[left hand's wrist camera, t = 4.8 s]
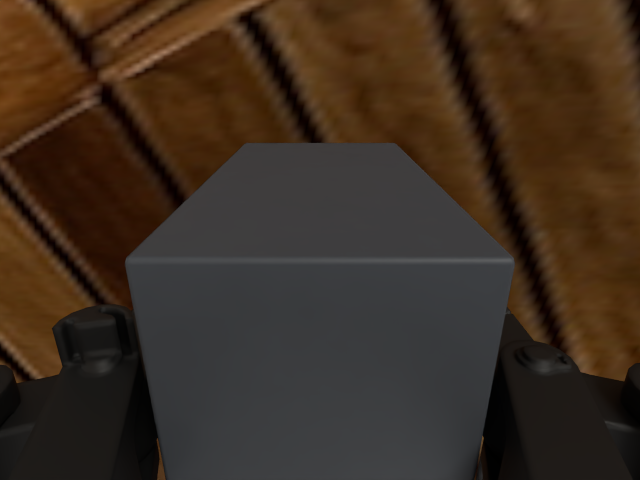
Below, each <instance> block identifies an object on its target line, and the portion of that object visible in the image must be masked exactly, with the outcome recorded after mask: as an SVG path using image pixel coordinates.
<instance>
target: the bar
mask: <svg viewBox="0 0 640 480" xmlns="http://www.w3.org/2000/svg"><path fill="white" fill-rule="evenodd" d="M514 265H515V262H514V258H513V257H512V256H511V255H510V254H509V253H508V252H507V251H506V250H505V249H504V248H503V247H502V246H501V245H500V244H499V243H498V242H497V241H496V240H495V239H494V238H492V237H491V236H490V235H489V234H488V233H487V232H486V231H485V230H484V229H483V228H482V227H481V226H480V225H479V224H478V223H477V222H476V221H475V220H474V219H473V218H472V217H471V216H470V215H469V214H468V213H467V212H466V211H465V210H464V209H462V208H461V207H460V206H459V205H458V204H457V203H456V202H455V201H454V200H453V199H452V198H451V197H450V196H449V195H448V194H447V193H446V192H445V191H444V190H443V189H442V188H441V187H440V186H439V185H438V184H437V183H436V182H435V181H434V180H432V179H431V178H430V177H429V176H428V175H427V174H426V173H425V172H424V171H423V170H422V169H421V168H420V167H419V166H418V165H417V164H416V163H415V162H414V161H413V160H412V159H411V158H410V157H409V156H408V155H407V154H406V153H405V152H404V151H403V150H401V149H400V148H399V147H398V146H397V145H396V144H395V143H246V144H244V145H243V146H242V147H241V148H240V149H239V150H238V151H237V152H236V153H235V154H234V155H233V156H232V157H231V158H230V159H229V160H228V161H227V162H225V163H224V164H223V165H222V166H221V167H220V168H219V169H218V170H217V171H216V172H215V173H214V174H213V175H212V176H211V177H210V178H209V179H208V180H207V181H206V182H205V183H204V184H203V185H202V186H201V187H199V188H198V189H197V190H196V191H195V192H194V193H193V194H192V195H191V196H190V197H189V198H188V199H187V200H186V201H185V202H184V203H183V204H182V205H181V206H180V207H179V208H178V209H177V210H176V211H175V212H173V213H172V214H171V215H170V216H169V217H168V218H167V219H166V220H165V221H164V222H163V223H162V224H161V225H160V226H159V227H158V228H157V229H156V230H155V231H154V232H153V233H152V234H151V235H150V236H149V237H147V238H146V239H145V240H144V241H143V242H142V243H141V244H140V245H139V246H138V247H137V248H136V249H135V250H134V251H133V252H132V253H131V254H130V255H129V256H128V257H127V258H126V262H125V266H126V271H127V276H128V282H129V287H130V292H131V297H132V303H133V308H134V313H135V319H136V324H137V329H138V334H139V340H140V345H141V350H142V356H143V361H144V366H145V371H146V377H147V382H148V387H149V393H150V398H151V403H152V408H153V414H154V419H155V424H156V430H157V435H158V440H159V445H160V451H161V456H162V461H163V466H164V472H165V477H166V480H474V477H475V472H476V467H477V461H478V456H479V451H480V445H481V440H482V435H483V430H484V424H485V419H486V414H487V408H488V403H489V398H490V393H491V387H492V382H493V377H494V371H495V366H496V361H497V355H498V350H499V345H500V340H501V334H502V329H503V324H504V318H505V313H506V308H507V302H508V297H509V292H510V287H511V281H512V276H513V271H514Z"/></svg>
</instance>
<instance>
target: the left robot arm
mask: <svg viewBox="0 0 640 480" xmlns="http://www.w3.org/2000/svg"><path fill="white" fill-rule="evenodd" d="M52 330H53V334H54V337H55V341H56V344H57V348H58V352H59V355H60V359H61V362H62V366H63V367H62V369H61V371H60V373H59V375H55V376H51V377H46V378H41V379H36V380H31V381H26V382H21V383H16V380H15V377H14V374H13V371H12V370H11V369H10V368H8V367H7V366H6V365H0V480H157V474H158V466H159V451H158V445H157V438H158V435H157V430H156V424H155V419H154V414H153V408H152V403H151V398H150V393H149V387H148V382H147V377H146V371H145V366H144V361H143V356H142V350H141V345H140V340H139V334H138V329H137V324H136V319H135V313H134V309H133V310H132V311H130V310H129V309H128V308H127V307H124V306H120V305H115V304H112V305H98V306H93V307H88V308H84V309H82V310H79V311H76V312H73V313H71V314H69V315H68V316H66V317H64V318H63V319H61V320H59V321H58V323H57V324H56V325H55V326H54V327H53V328H52ZM483 437H484V440H483V445H482V451H481V456H480V461H479V466H478V472H477V477H476V480H640V363H636V364H634V365H633V366H631V367H630V368H629V369H628V372H627V375H626V378H625V381H619V380H614V379H609V378H604V377H599V376H594V375H589V374H585V373H581V372H580V370H579V368H578V366H577V365H576V364H575V362H574V361H573V360H572V359H571V357H569V356H568V355H566V354H565V353H563V352H562V351H561V350H559V349H557V348H554V347H552V346H550V345H547V344H545V343H541V342H536V341H534V340H533V339H532V338H531V337H530V335H529V334H528V333H527V331H526V330H525V329H524V328H523V326H522V325H521V324H520V323H519V321H518V320H517V319H516V318H515V316H514V315H513V314H511V311H510V310H509V309H508V307H507V308H506V313H505V318H504V324H503V329H502V334H501V340H500V345H499V350H498V355H497V361H496V366H495V371H494V377H493V382H492V387H491V393H490V398H489V403H488V408H487V414H486V419H485V424H484V430H483Z"/></svg>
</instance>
